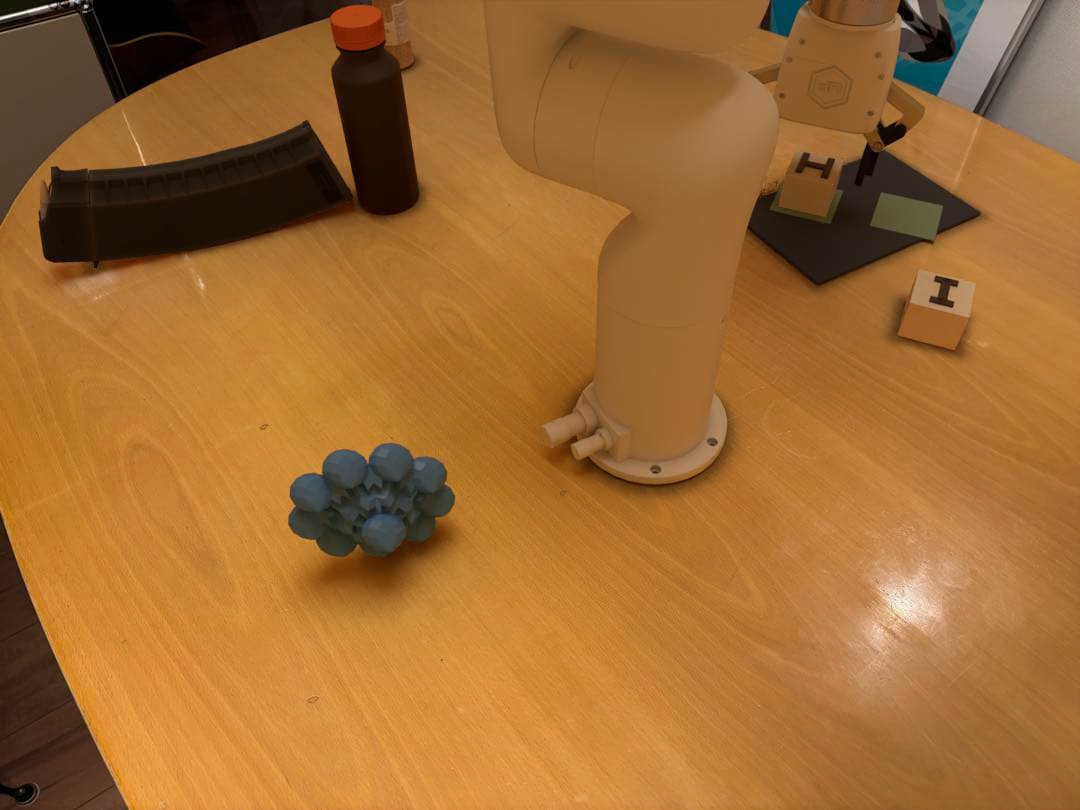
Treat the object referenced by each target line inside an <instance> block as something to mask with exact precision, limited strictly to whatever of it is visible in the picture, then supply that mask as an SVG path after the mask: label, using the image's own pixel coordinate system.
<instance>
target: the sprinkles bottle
mask: <svg viewBox="0 0 1080 810" xmlns="http://www.w3.org/2000/svg"><path fill="white" fill-rule="evenodd" d="M371 4H372V5H371V6H373V7H375V8H378V9H379V10H381V12H382V15H383V21H384V27H385V34H386V43H385V45H384V48H385V49H386V50H387V51H389V52H390V53H391V54H393V55H394V56H395V57H396V58H397V60H398V61H399V63H400V68H401V70H403V69H405V68H409V67H410V66H412V65H413V64H414V62H415V57H414V54H413V49H412V42H411V29H410V23H409V16H408V8H407V1H406V0H371Z"/></svg>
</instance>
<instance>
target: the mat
mask: <svg viewBox="0 0 1080 810" xmlns="http://www.w3.org/2000/svg"><path fill="white" fill-rule="evenodd" d="M861 159H862V158H858V159H856V160H854V161H852V162H849V163H846V164H843V166H842V170H841V174H840V178H839V181H838V185H837V189H836V192H835V195H834V197H833V200H832V202H831V205H830V207H829V210H828V212H827V215H826V217H822V216H817V215H813V214H809V213H804V212H800V211H796V210H791V209H787V208H783V207H779V206H778V205H779V200H780V196H781V191H782V186H783V182H784V179H782V182H781V183H780V186H779V188H778V190H776V191H774V192H771V193H769V194H765V195H763V196H761V197H760V196H759V197H758V198H757V201H756V204H755V206H754V209H753V212H752V214H751V217H750V220H749V224H748V227H747V230H749V231H750V232H752V234H754V235H755V236H757V237H758V238H759V239H760V240H762V242H764V243H765V244H766V245H767V246H769V247H770V248H771V249H772V250H774V251H775V252H776V253H777V254H778V255H780V256H781V257H782V258H783V259H784V260H786V261H787V262H788V263H789V264H790V265H791V266H793V267H794V268H795V269H796V270H798V271H799V272H800V273H801V274H803V275H804V276H805V277H806V278H808V279H809V280H810V281H811V282H812V283H813V284H815V285H816V286H817V287H818V286H821V285H824V284H826V283H828V282H831V281H832V280H835V279H837V278H839V277H841V276H845V275H846V274H849V273H851V272H853V271H855V270H858V269H860V268H862V267H865V266H867V265H869V264H871V263H874V262H876V261H878V260H880V259H883V258H885V257H888V256H890V255H892V254H894V253H896V252H897V253H898V252H899V251H901V250H903V249H906V248H908V247H910V246H913V245H915V244H917V243H920V242H922V241H924V240H926V241H931V242H935V240H936V236H937V235H939V234H940V233H943V232H945V231H947V230H950V229H952V228H954V227H957V226H959V225H961V224H963V223H966V222H968V221H971V220H972V219H975V218H977V217H979V216H981V213H982V212H981V211H980V210H978V209H977V208H975V207H973V206H972V205H971V204H969V203H967V202H966V201H964V200H963V199H962V198H960V197H958V196H956V195H955V194H953V193H952V192H950V191H948V190H947V189H945V188H944V187H942V186H941V185H940V184H938V183H936V182H935V181H933V180H932V179H930V178H929V177H927V176H925V175H924V174H923V173H921V172H920V171H917V169H915V168H914V167H912V166H910V165H909V164H907V163H906V162H904V161H902V160H901V159H899V158H898V157H896V156H895V155H893V154H891V153H890V152H888V151H887V150H885V149H883V150H882V151H881V152H880V153H879V156H878V159H877V163H876V166H875V169H874V172H873V175H872V177H871V176H866V175H865V177H864V180H863V182H862V185H861V187H859V186H856V184H854V183H855V179H856V176H857V172H858V169H859V165H860V162H861Z"/></svg>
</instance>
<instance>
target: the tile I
mask: <svg viewBox="0 0 1080 810" xmlns="http://www.w3.org/2000/svg"><path fill="white" fill-rule="evenodd" d="M976 288H977V283H976V282H975V281H974V282H973V281H969V280H965V279H960V278H956V277H954V276H949V275H944V274H940V273H936V272H932V271H928V270H923V269H920V268H919V269H918V270H917V272H916V275H915V278H914V280H913V283H912V285H911V288H910V291H909V293H908V296H907V298H906V301H905V305H904V309H903V312H902V316H901V319H900V324H899V327H898V331H897V335H896V336H898V337H902V338H906V339H909V340H913V341H917V342H920V343H925V344H928V345H931V346H936V347H939V348H944V349H947V350H950V351H955V350H956V348H957V346H958V344H959V342H960V339H961V337H962V335H963V333H964V331H965V329H966V327H967V324H968V322H969V320H970V318H971V313H972V308H973V302H974V298H975V292H976Z"/></svg>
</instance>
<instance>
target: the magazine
mask: <svg viewBox="0 0 1080 810" xmlns="http://www.w3.org/2000/svg"><path fill="white" fill-rule="evenodd" d="M354 199H355V197H354V195H353V192H352V189H351V188H350V187H349V186H348V184H347V183H346V181H345V179H344V178H343V176H342V174H341V173H340V170H339V169H338V168H337V166H336V164H335V163H334V161H333V160H332V158H331V156H330V154H329V153H328V151H327V149H326V148H325V146H324V144H323V143H322V141H321V139H320V138H319V136H318V135H317V133H316V131H315V130H314V128H313V127H312V125H311V123H310V121H309V120H308V119H305V120H303V121H302V122H301V123H300V124H298V125H296V126H293V127H291V128H289V129H288V130H284V131H283V132H279V133H277V134H274V135H272V136H269V137H267V138H264V139H261V140H258V141H254V142H251V143H246V144H243V145H239V146H234V147H231V148H227V149H223V150H219V151H216V152H215V151H214V152H211V153H208V154H204V155H199V156H195V157H194V156H193V157H190V158H185V159H180V160H174V161H173V160H172V161H167V162H161V163H154V164H146V165H139V166H128V167H113V168H98V169H97V168H95V169H89V168H81V169H73V170H72V169H71V170H69V169H67V170H65V169H61V168H60V167H59V166H58V165H55V166H50V183H49V185H47V183H46V181H45V179H41V180H40V187H39V209H38V212H37V214H38V219H39V220H38V228H39V236H40V242H41V249H42V256H43V258H44V259H45V260H46V261H47V262H50V263H53V264H64V263H65V264H66V263H92V265H93V266H92V267H93V269H98V267H99V264H100V262H107V261H108V262H109V261H119V260H127V259H138V258H146V257H147V258H148V257H155V256H156V257H157V256H164V255H171V254H172V255H173V254H178V253H185V252H190V251H195V250H200V249H206V248H210V247H214V246H219V245H222V244H226V243H230V242H234V241H239V240H242V239H246V238H249V237H253V236H257V235H260V234H263V233H266V232H269V231H272V230H275V229H278V228H281V227H284V226H287V225H290V224H293V223H296V222H299V221H301V220H305V219H306V218H309V217H312V216H315V215H317V214H321V213H323V212H326V211H329V210H331V209H334V208H337V207H339V206H342V205H345V204H348V203H349V204H352V203H354V202H355V200H354Z"/></svg>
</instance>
